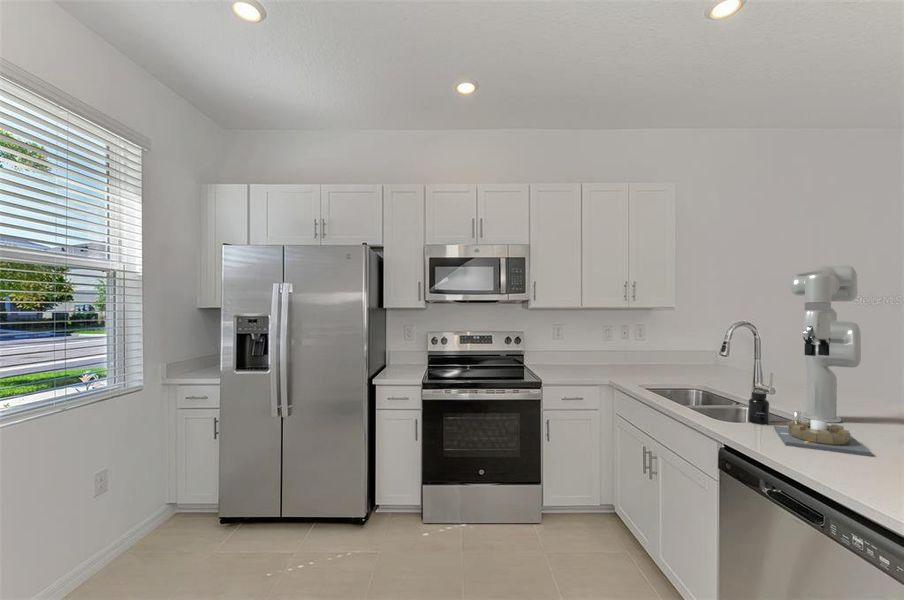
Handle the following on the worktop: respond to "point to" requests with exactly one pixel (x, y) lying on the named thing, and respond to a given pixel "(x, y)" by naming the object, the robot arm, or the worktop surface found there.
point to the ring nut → (818, 432)
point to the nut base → (849, 448)
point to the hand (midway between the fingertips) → (816, 355)
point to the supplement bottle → (758, 409)
